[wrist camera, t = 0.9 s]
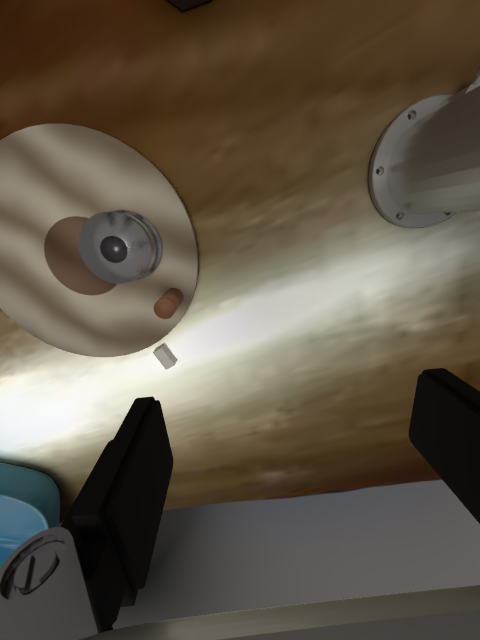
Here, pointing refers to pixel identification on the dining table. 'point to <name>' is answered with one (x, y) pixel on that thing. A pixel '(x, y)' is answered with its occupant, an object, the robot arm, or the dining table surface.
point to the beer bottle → (187, 3)
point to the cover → (120, 246)
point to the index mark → (165, 356)
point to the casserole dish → (25, 506)
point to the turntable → (63, 234)
